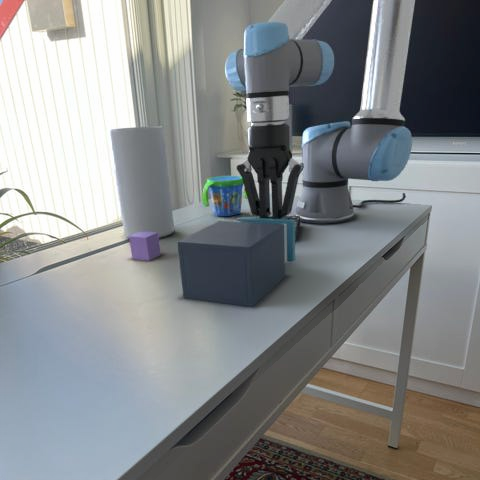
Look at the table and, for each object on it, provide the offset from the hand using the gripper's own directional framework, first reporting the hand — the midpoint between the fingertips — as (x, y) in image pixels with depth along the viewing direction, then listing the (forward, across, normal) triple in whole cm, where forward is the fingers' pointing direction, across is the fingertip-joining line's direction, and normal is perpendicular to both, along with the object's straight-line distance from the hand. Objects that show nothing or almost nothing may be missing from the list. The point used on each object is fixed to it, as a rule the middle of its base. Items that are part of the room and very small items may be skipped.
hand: (272, 250), depth 96 cm
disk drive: (+2, -6, +19) cm, 20 cm away
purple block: (+2, -27, -6) cm, 27 cm away
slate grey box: (+2, 0, -17) cm, 17 cm away
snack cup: (+2, -28, +37) cm, 46 cm away
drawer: (+1, 0, -6) cm, 7 cm away
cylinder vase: (+2, -38, +12) cm, 40 cm away
